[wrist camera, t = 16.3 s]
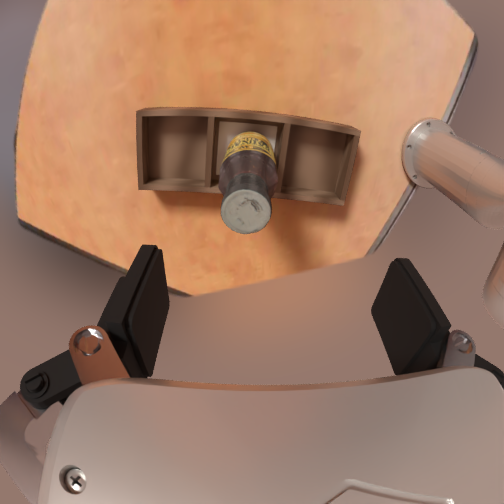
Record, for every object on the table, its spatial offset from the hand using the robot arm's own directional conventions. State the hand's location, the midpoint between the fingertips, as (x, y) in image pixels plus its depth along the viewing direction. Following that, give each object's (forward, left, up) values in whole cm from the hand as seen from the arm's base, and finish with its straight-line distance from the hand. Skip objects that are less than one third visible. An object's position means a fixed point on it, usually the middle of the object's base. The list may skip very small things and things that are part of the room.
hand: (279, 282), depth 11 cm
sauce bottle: (+1, +3, -32) cm, 32 cm away
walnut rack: (+1, +3, -33) cm, 33 cm away
